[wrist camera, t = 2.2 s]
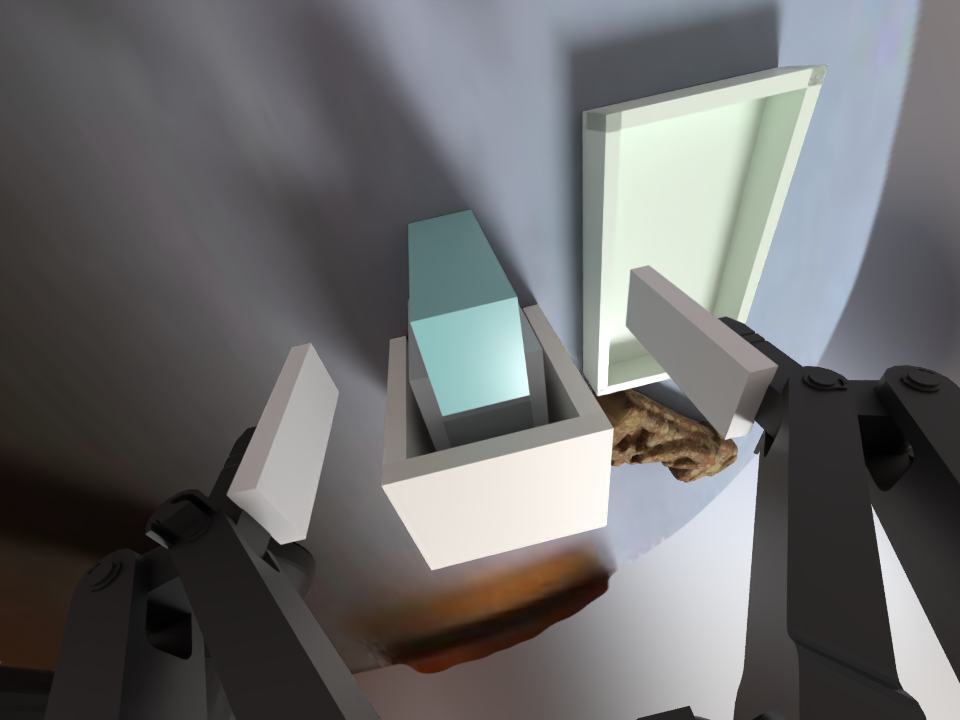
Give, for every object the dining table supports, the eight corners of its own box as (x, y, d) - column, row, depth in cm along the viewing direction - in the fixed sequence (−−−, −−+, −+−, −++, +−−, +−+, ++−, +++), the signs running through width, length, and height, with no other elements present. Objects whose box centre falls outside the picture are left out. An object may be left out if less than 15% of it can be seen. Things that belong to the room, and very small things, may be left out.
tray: (583, 373, 33) (597, 396, 30) (582, 111, 21) (606, 114, 18) (708, 342, 33) (732, 363, 31) (778, 66, 21) (828, 64, 19)
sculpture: (608, 369, 34) (636, 407, 29) (725, 425, 41) (760, 462, 37) (554, 428, 37) (572, 470, 33) (671, 470, 45) (698, 508, 41)
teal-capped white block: (441, 400, 32) (457, 533, 22) (384, 229, 23) (369, 332, 13) (519, 381, 32) (567, 505, 23) (494, 203, 23) (557, 287, 13)
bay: (423, 423, 33) (431, 570, 23) (390, 339, 28) (381, 486, 17) (545, 393, 34) (606, 525, 23) (538, 304, 28) (613, 428, 18)
